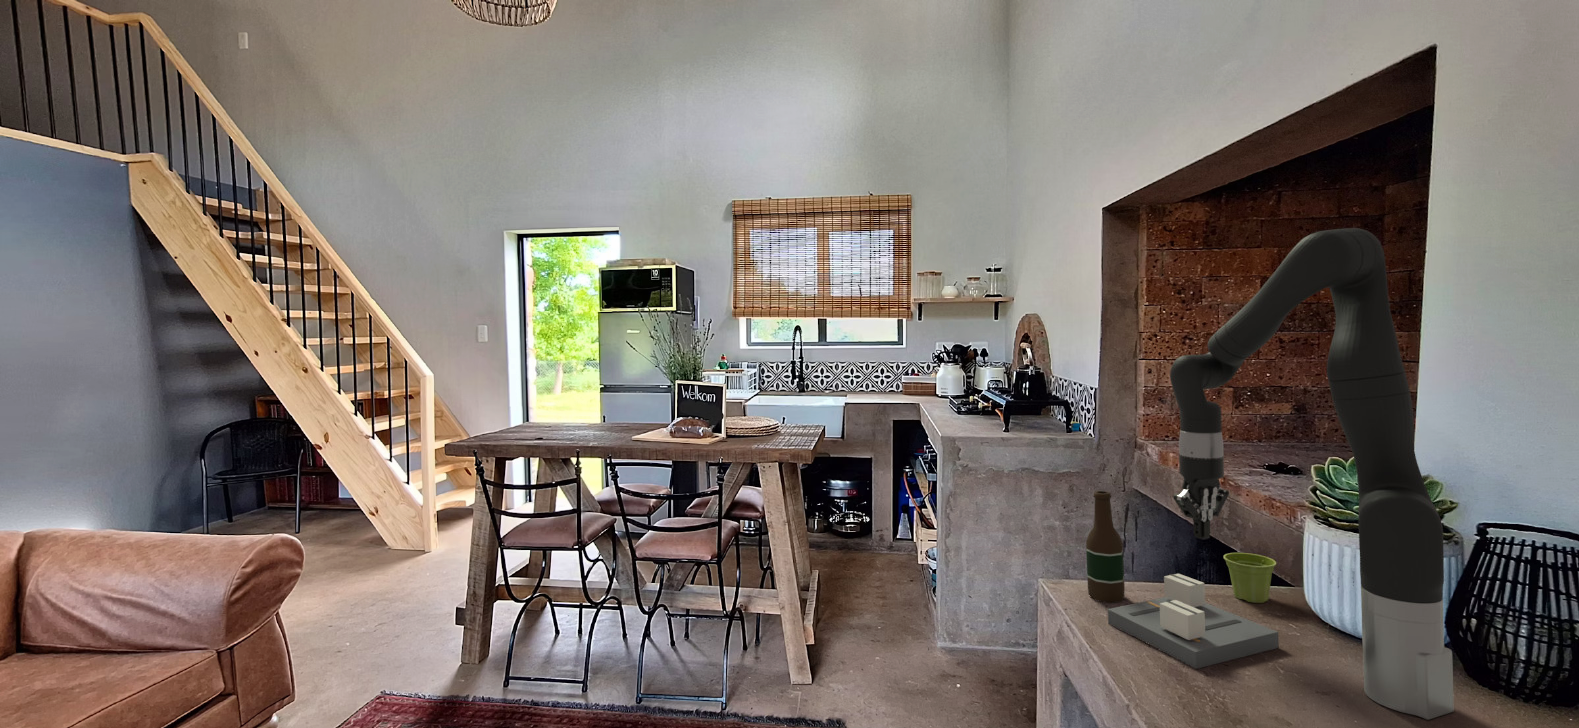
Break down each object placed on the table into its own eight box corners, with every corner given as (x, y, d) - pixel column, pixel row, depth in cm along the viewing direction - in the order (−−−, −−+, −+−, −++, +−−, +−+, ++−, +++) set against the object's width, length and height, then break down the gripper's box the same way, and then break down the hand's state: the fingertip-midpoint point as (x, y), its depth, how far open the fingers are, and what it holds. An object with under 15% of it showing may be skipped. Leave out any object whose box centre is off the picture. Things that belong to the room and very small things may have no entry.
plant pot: (1218, 588, 145) (1216, 551, 145) (1265, 591, 142) (1264, 553, 142) (1234, 605, 136) (1233, 565, 136) (1286, 608, 133) (1284, 567, 133)
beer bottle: (1130, 604, 139) (1126, 496, 139) (1092, 603, 141) (1088, 496, 140) (1119, 590, 147) (1115, 488, 146) (1083, 589, 148) (1079, 488, 148)
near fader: (1205, 636, 116) (1204, 611, 116) (1188, 640, 115) (1187, 615, 114) (1176, 622, 122) (1175, 599, 121) (1160, 626, 120) (1159, 602, 120)
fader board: (1278, 647, 117) (1278, 631, 117) (1195, 668, 111) (1195, 651, 111) (1183, 607, 136) (1182, 593, 136) (1108, 623, 130) (1107, 608, 130)
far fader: (1205, 605, 129) (1204, 582, 129) (1190, 608, 128) (1189, 585, 127) (1179, 594, 135) (1178, 572, 134) (1164, 597, 133) (1163, 575, 133)
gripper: (1194, 459, 121) (1195, 548, 122) (1242, 453, 126) (1243, 538, 126) (1159, 453, 128) (1161, 537, 129) (1206, 447, 133) (1208, 528, 133)
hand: (1202, 537), depth 128 cm, fingers closed
